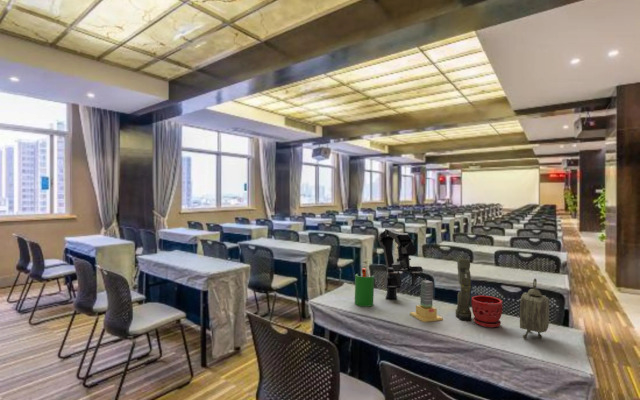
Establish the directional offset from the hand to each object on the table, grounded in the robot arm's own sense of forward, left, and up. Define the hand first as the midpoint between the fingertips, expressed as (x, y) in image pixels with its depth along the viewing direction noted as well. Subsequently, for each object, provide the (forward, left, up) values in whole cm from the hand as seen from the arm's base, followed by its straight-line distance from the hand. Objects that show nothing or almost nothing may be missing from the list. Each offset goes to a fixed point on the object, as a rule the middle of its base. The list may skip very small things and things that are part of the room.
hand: (405, 286), depth 181 cm
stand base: (+11, +10, -12) cm, 19 cm away
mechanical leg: (+4, +28, -12) cm, 31 cm away
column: (+11, +10, -6) cm, 16 cm away
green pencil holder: (0, -22, -12) cm, 25 cm away
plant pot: (+12, +37, -12) cm, 41 cm away
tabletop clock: (+22, +54, -12) cm, 60 cm away
